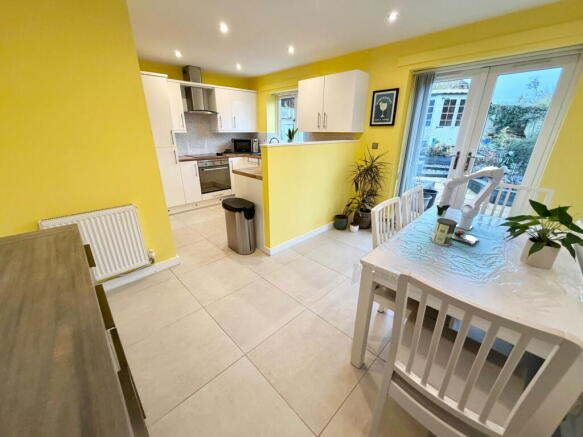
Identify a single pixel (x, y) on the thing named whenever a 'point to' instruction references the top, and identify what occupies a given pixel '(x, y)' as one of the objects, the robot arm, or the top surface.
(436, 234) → the coffee can
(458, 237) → the scale
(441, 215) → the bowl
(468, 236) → the scale pan
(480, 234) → the top surface
